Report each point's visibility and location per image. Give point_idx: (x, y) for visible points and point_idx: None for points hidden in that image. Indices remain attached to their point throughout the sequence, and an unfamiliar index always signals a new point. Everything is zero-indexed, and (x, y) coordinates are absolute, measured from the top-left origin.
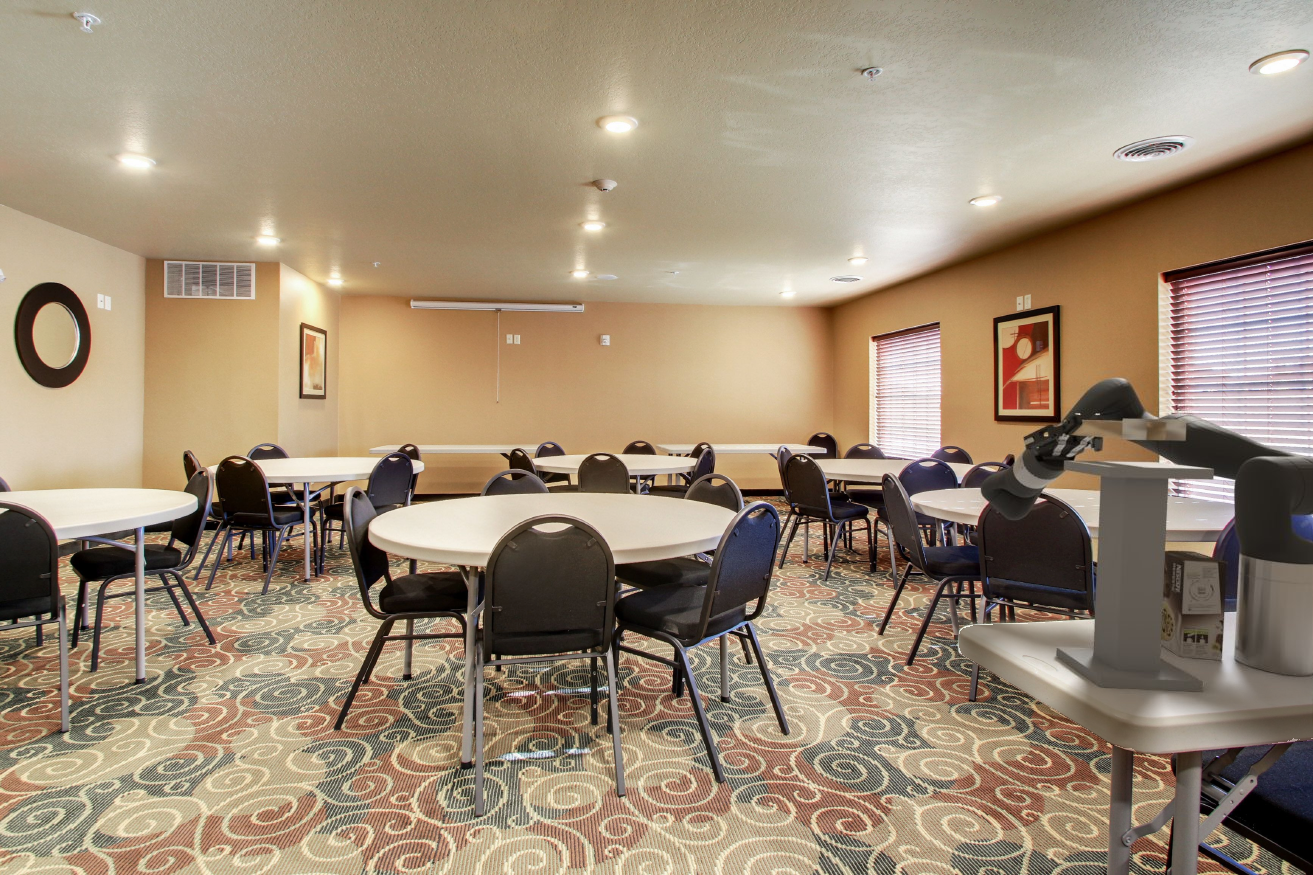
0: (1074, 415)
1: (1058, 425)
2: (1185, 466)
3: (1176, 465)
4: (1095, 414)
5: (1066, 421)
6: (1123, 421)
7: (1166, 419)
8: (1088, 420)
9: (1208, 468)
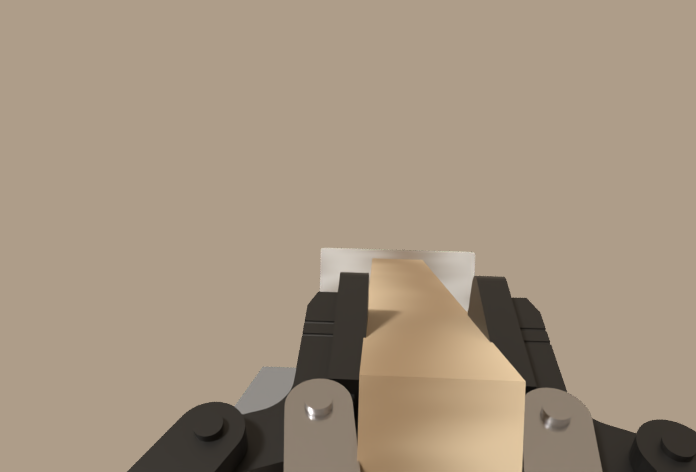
0: (505, 291)
1: (590, 424)
2: (270, 388)
3: (264, 400)
4: (368, 275)
5: (547, 348)
6: (474, 261)
7: (372, 249)
8: (458, 302)
9: (264, 370)
